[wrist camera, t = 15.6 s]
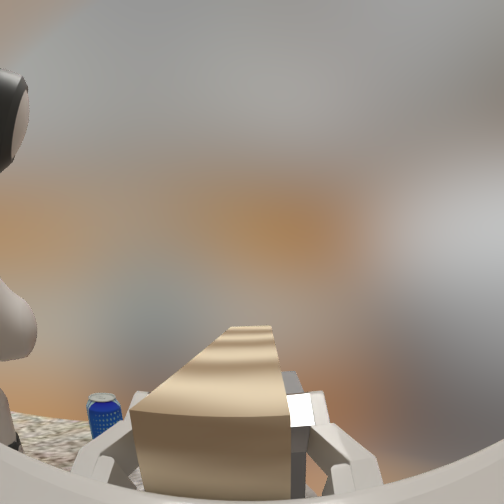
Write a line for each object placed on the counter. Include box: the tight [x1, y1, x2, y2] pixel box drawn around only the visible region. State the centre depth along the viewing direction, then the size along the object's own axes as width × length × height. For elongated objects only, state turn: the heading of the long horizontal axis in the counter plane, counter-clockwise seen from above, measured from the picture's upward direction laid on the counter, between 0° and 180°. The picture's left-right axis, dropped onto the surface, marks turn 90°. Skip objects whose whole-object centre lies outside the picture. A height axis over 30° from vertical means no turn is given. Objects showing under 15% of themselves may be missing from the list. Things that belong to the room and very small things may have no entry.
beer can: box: [86, 393, 123, 439], centre depth 56 cm, size 8×8×16 cm
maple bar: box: [129, 325, 291, 501], centre depth 18 cm, size 24×4×4 cm, turn 178°
